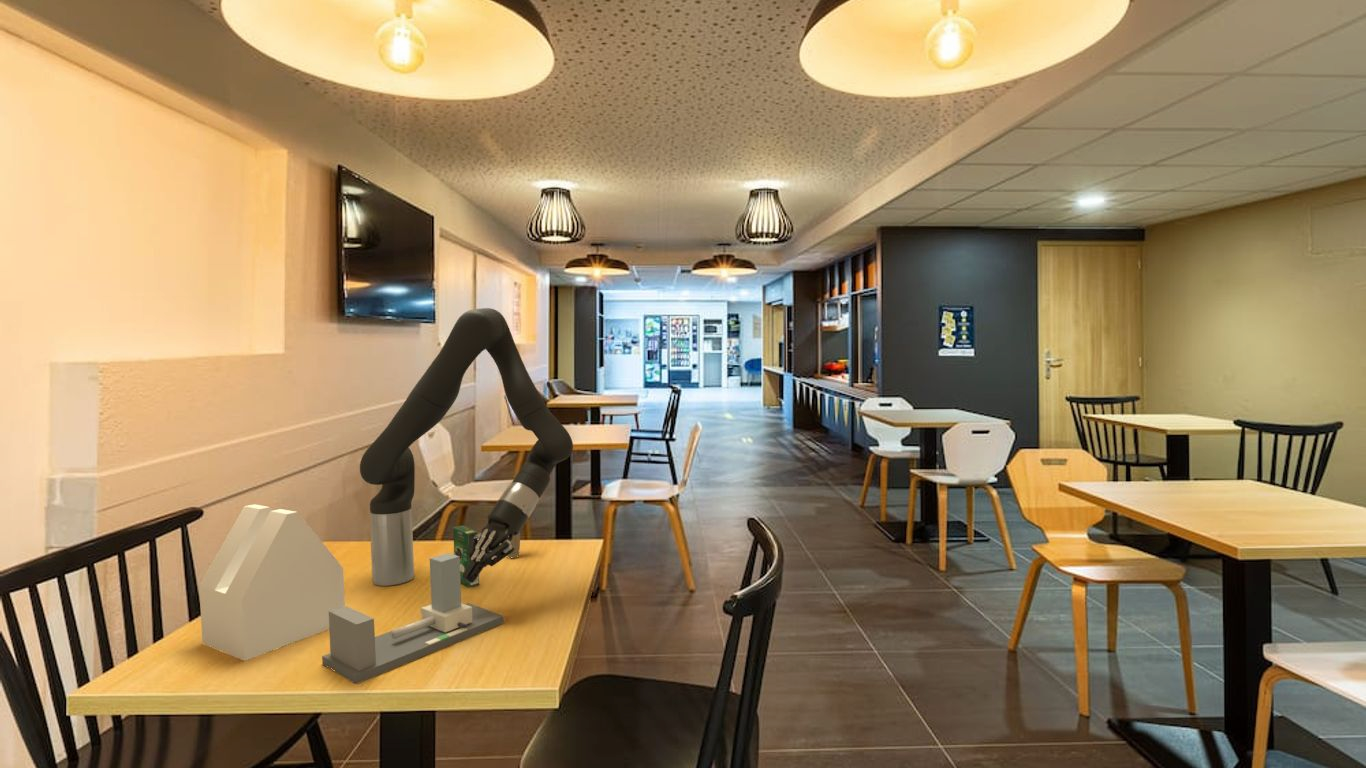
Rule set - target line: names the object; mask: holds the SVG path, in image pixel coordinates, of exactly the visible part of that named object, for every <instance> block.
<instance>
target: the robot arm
mask: <svg viewBox="0 0 1366 768" xmlns="http://www.w3.org/2000/svg"><path fill="white" fill-rule="evenodd" d="M483 351H487V353H488V355H490V356H491V358H492V360H493V361H494V363H495V364H496V367H497V369H498V372H499V374H500V377H501V380H502V385H503V389H504V393H505V398H506V399H507V401H508V403H509V406H510V408H511V409H512V412H513V413H514V414H515V416H516V418H517V420H518V421H519V423H520V425H521V426H522V427H523V428H524V430H526V431H531V432H532V433H533V434H534V435H535V438H537V441H536V442H535V443H534V444H533V445H532V448H531V449H530V451H529V453H528V455H527V457H526V459H525V461H524V464H523V465H522V466H521V469H519V471H518V473H516V475H515V477H514V478H513V480H512V481H511V483H510V484H509V485H508V486H507V487H506V489H505V490H504V491H503V492H502V494H501V496H500V497H499V498H498V500H497V501H496V503H495V505H494V506H493V508H491V510H490V512H489V514H488V515H487V520H488V521H487V522H488V523H487V524H486V525H485V526H483V528H482V529H481V531H480V532H478V534H477V535H475V534H474V533H472V534H471V535H470V538H469V546H468V556H469V557H470V558H471V562H470V564H469V565H468V567H467V568H466V570H465V571H464V573H463V575H462V578H463V579H465V580H466V581H468V582H471V583H473V582H474V580H475V579H476V578H477V577H478V575H479V576H480V574H481V572H482V571H483V570H484V569H485V568H487V567H488V566H490V567H494V566H495V565H496V564H497V563H499V562H500V561H502V560H504V559H505V558H506V557H507V555H509V554H510V553H512V552H513V551H514V547H513V546H512V545H511V542H510V541H511V540H512V538H513V536H515V535H518V534H519V532H520V533H521V530H522V529H523V527H524V525H526V523H527V521H528V520H529V518H530V516H531V515H532V514H533V511H534V510H535V508H536V506H537V504H538V502H539V500H540V498H541V497H542V495H543V493H544V492H545V490H546V489H547V488H548V485H549V483H550V480H551V476H550V475H551V473H552V472H553V470H554V468H555V467H556V466H557V464H558V463H561V462H563V461H565V460H567V459H568V458H570V456H571V455H572V454H573V453H572V452H573V450H574V443H573V439H572V437H571V434H570V433H569V432H568V430H567V429H566V427H565V426H564V425H563V424H562V423H561V422H560V421H559V420H558V419H557V417H556V416H555V415H554V414H553V413H552V412H551V411H550V409H549V407H548V406H547V404H546V403H545V400H544V399H543V397H542V395H541V394H540V392H539V391H538V389H537V387H536V386H535V383H534V382H533V380H532V378H531V375H530V374H529V372H528V370H527V368H526V366H525V364H524V361H523V359H522V357H521V354H520V352H519V350H518V347H517V345H516V343H515V340H514V338H513V335H512V333H511V329H510V327H509V324H508V323H507V321H506V318H505V317H504V316H503V314H502V313H501V312H500V311H498V310H496V309H494V308H490V307H484V308H474V309H473V308H472V309H469V310H467V311H465V312H464V313H461V315H460V316H459V317H458V318H457V320H456V322H455V324H454V325H453V327H452V329H451V330H450V333H449V335H448V336H447V339H446V340H445V342H444V344H443V345H442V348H441V350H440V351H439V352H438V354H437V356H436V357H435V358H434V359H433V361H432V362H431V364H430V365H429V366H428V367H427V369H426V370H425V372H424V374H422V376H421V377H420V378H419V380H417V381H418V382H417V383H416V384H415V386H414V387H413V389H412V390H411V391H410V393H409V394H408V396H407V398H406V399H405V401H404V402H403V404H402V405H401V406H400V407H399V409H398V411H397V412H396V413H395V415H394V416H393V418H392V419H391V420H390V421H389V423H388V424H387V426H386V427H385V429H384V430H383V431H382V432H381V433H380V434H379V436H377V438H376V439H375V440H374V441H373V442H372V443H371V445H370V446H369V447H367V449H366V450H365V451H364V453H363V455H362V457H361V459H360V462H359V472H360V475H361V478H362V479H363V480H364V482H366V483H368V484H370V485H374V486H375V485H376V486H378V485H379V486H381V488H380V490H379V492H378V493H377V494H376V495H375V496H374V497H373V498H372V499H370V502H369V514H370V515H369V520H370V521H369V522H370V538H371V539H370V540H371V542H370V553H371V554H370V556H371V557H370V559H371V578H372V583H373V584H374V585H375V586H382V587H383V586H388V587H389V586H395V585H401V584H404V583H407V582H410V581H411V580H414V578H415V564H414V562H415V561H414V560H415V559H414V540H413V539H414V537H413V534H414V533H413V515H412V514H413V513H412V501H413V498H414V495H415V482H416V481H415V480H416V478H415V477H416V476H415V475H416V472H415V471H416V468H415V459H414V454H413V452H412V450H411V449H410V446H411V445H413V443H415V442H416V441H418V439H420V438H421V437H423V436H424V435H425V434H426V433H428V432H429V431H430V430H431V429H433V428H434V427H436V426H437V424H439V423H440V422H441V421H442V419H443V418H444V417H445V415H447V413H448V411H449V410H450V409H451V408H452V406H453V404H454V403H455V401H456V400H457V397H458V396H459V393H460V390H461V387H462V386H461V385H462V382H463V378H464V375H465V374H466V372H467V370H468V368H470V366H471V365H472V364H473V362H474V361H475V360H476V359H477V357H478V356H479V355H481V353H482V352H483Z"/></svg>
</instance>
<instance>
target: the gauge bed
mask: <svg viewBox="0 0 1366 768" xmlns="http://www.w3.org/2000/svg"><path fill="white" fill-rule="evenodd" d="M464 604H465V603H464ZM465 605H468V606H471V607H472V622H471V623H468V624H466V628H461V627H458V628H456V629H453V630H451V631H448V632H446V633H445V632H443V631H440V630H438V629H435V628H433V627H431V626H428V627H425V628H422V629H420V630H417V631H414V632H412V633H409V634H406V635H404V636H401V637H398V638H396V639H393V638H392V635H391V631H392V630H391V631H388V632H385V633H383V634H379V635H378V636H376V635H375V634H376V633H375V632H376V631H375V618H374V617H372V616H369V615H367V614H365V613H363V612H360V611H359V610H356V609H354V608H351V607H349V606H347V605H345V606H344V607H341V608H337V609H334V610H331V611H329V629H328V630H329V649H330V652H329V653H327V654H324V655H322V656H321V657H322V658H321V659H322V660H321V662H322V665H323V664H324V665H326V666H328V667H330V668H332V669H333V670H335V671H336V672H337V673H336V672H335V671H334V672H335V673H336V674H338V673H339V674H338V675H340V676H341V675H342V677H343V676H344V677H343V678H345V679H346V680H348V679H349V680H348V681H350V682H352V683H353V682H354V684H355V685H357V684H360V683H362V682H364V681H367V680H369V679H371V678H375V677H377V676H379V675H382V674H384V673H386V672H388V671H391V670H394V669H396V668H398V667H400V666H403V665H405V664H408V663H410V662H413V661H415V660H418V659H419V658H422V657H425V656H428V655H430V654H432V653H434V652H437V651H439V650H442V649H444V648H446V647H449V646H452V645H455V644H457V643H459V642H462V641H464V640H466V639H469V638H471V637H475V636H476V635H478V634H481V633H483V632H485V631H488V630H490V629H493V628H496V627H497V626H500V625H502V624H505V616H504V614H501V613H497V612H494V611H492V610H489V609H486V608H484V607H480V606H478V605H474V604H472V603H470V602H468V603H466V604H465ZM324 665H323V666H324ZM326 666H325V667H326ZM328 667H327V668H328ZM333 670H332V671H333Z"/></svg>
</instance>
